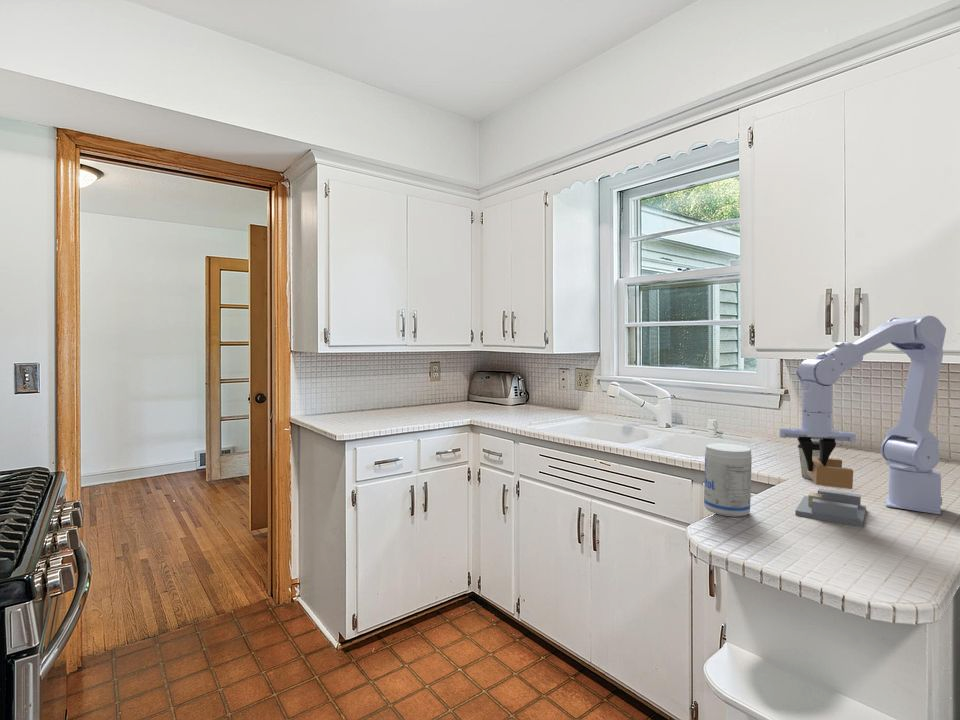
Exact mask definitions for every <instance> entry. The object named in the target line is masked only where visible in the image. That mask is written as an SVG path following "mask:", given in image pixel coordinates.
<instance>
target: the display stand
mask: <svg viewBox="0 0 960 720" xmlns="http://www.w3.org/2000/svg"><path fill="white" fill-rule="evenodd" d="M861 495H862V494H858V493H852V492H845V491H839V490H833V489H827V488H826V489H824V488H818V490H817V493H816V492H812V491H811V492H809V493H808V496H806V495H804V496H803V497H802V499H801V501H800V502H799V504H798V505H797V507H796V508H795V516H799V517H804V518H811V519H816V520H817V519H818V520H820V521H821V520H822V521H828V522H835V523H840V524H845V525H852V526H854V527H855V526H856V527H861V528H863V527H864V522H865V516H866V512H867V511H866V510H867V505H864V504H861V500H862V499H861V497H862V496H861Z"/></svg>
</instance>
